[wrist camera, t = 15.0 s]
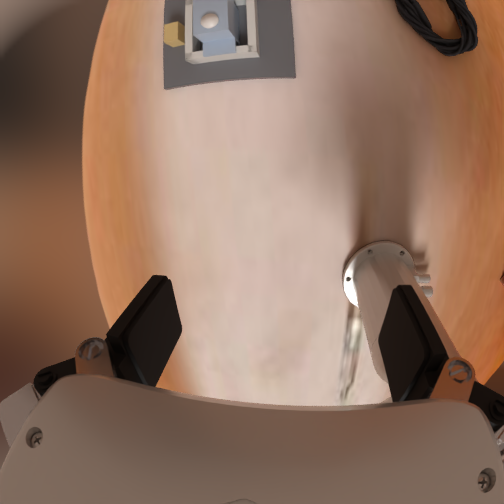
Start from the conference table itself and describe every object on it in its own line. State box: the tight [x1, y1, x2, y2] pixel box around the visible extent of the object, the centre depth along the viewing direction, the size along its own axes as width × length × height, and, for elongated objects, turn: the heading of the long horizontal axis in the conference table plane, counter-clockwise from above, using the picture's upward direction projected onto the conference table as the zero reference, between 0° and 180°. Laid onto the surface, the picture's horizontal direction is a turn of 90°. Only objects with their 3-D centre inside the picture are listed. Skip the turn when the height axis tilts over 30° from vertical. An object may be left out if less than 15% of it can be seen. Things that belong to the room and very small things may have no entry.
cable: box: [395, 0, 478, 56], centre depth 18 cm, size 17×14×4 cm
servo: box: [193, 0, 240, 57], centre depth 23 cm, size 4×10×7 cm, turn 3°
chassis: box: [163, 0, 296, 90], centre depth 25 cm, size 18×16×4 cm
